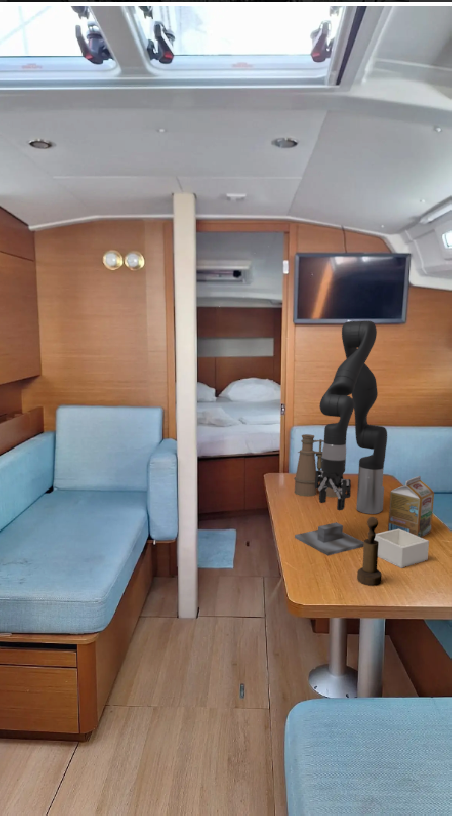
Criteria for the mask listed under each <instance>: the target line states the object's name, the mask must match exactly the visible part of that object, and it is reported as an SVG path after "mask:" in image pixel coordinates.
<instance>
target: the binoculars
mask: <svg viewBox="0 0 452 816" xmlns="http://www.w3.org/2000/svg"><path fill="white" fill-rule="evenodd" d="M301 437H302V439H301V443H302V445H301V450H300V451H298V452H297V454H299V457H298V460H297V461H298V463H297V468H296V472H295V473H296V474H295V477H294V478H293V479H294V481H295V482H294V483H295V484H294V494H295V495H297V496H299V497H314V496H317V488H315V476H316V471H318V470H321V465H322V442H323V443H324V439H321V438H319V439H315V435H314V434H308V433H307V434H305V433H304V434H301ZM315 442H318V451H314V443H315ZM316 457H317V458H316ZM316 460H317V462H316ZM338 489H340V487H339V488H338ZM325 491H326V498H328V497H329V498H338V496H337V494H336V493H335V492H334V490H333V489H331V488H330V487H328V488H327V489H326V490H325ZM340 494H341V492H340ZM341 495H342V494H341Z"/></svg>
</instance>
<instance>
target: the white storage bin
mask: <svg viewBox="0 0 452 816" xmlns="http://www.w3.org/2000/svg"><path fill="white" fill-rule="evenodd" d="M374 540H376V541H378V542H379V545H378V558H380V559H381V560H385V561H386V562H388V563H390V564H393V565H395V566H396V567H398V568H401V569H402V568H405V566H406V567H410V566H411V565H416V564H418V563H421V562H425V560H426V561H428V558H429V549H430V547H429V545H430V540H428V539H425V538H423V537H422V538H420V537H418V536H416V535H413V534H411V533H408V532H406V531H403V530H401V529H395V530H391V531H388V530H387V531H383V532H380V533H379V532H378V533H376V537H375V539H374ZM415 563H416V564H415Z"/></svg>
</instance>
